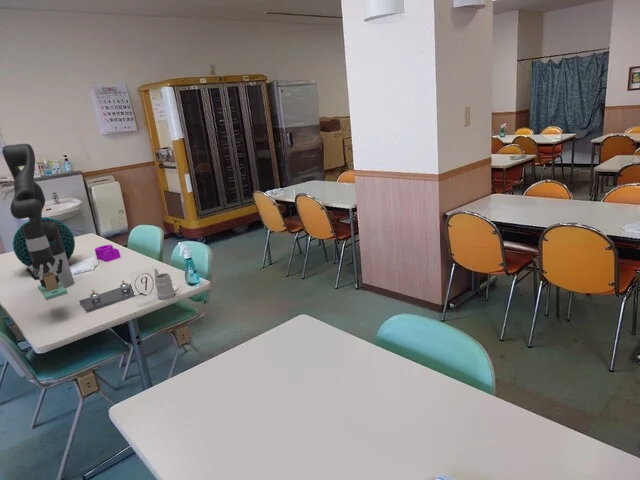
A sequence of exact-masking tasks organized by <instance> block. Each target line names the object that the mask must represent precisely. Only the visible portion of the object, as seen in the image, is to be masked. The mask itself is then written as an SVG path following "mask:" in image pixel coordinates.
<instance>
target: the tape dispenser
mask: <svg viewBox="0 0 640 480" xmlns="http://www.w3.org/2000/svg"><path fill="white" fill-rule="evenodd" d="M94 252H95V256H96V260H98V261H103V262H106V263H108V262H111V261H115V260H117V259H121V258H122V257H121V253H120V250H119V249H118V248H114V246H113V244H106V245H101V246H97V247H95V248H94Z"/></svg>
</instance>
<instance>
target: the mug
mask: <svg viewBox="0 0 640 480" xmlns="http://www.w3.org/2000/svg"><path fill="white" fill-rule="evenodd" d="M153 271H154V282H155V283H154V285H155V288H156V296H157V298H158V299H159V298H160V299H159V300H168V298H169V299H171V298H173V297H174V296H175V295H174V294H175V293H176V291H175V289H174V287H173V280H172V279H171V275H170V273H168V272H163V273H159V271H158V268H157V267H156V268H154V269H153Z"/></svg>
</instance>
